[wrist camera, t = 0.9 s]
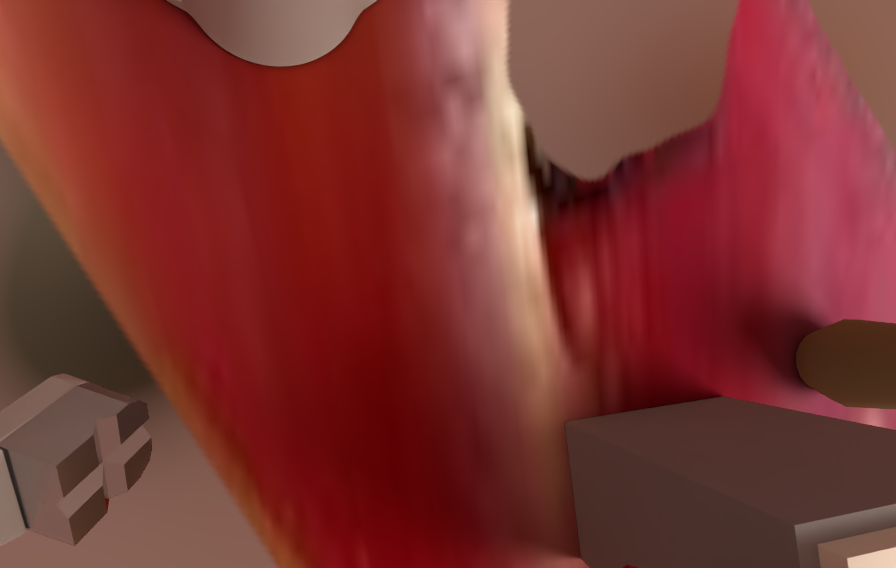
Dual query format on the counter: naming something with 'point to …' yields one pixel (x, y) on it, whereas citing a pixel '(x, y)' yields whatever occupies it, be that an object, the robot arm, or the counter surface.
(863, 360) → the squeeze bottle
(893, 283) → the counter surface
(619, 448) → the carton
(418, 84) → the counter surface
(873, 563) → the lid flap
